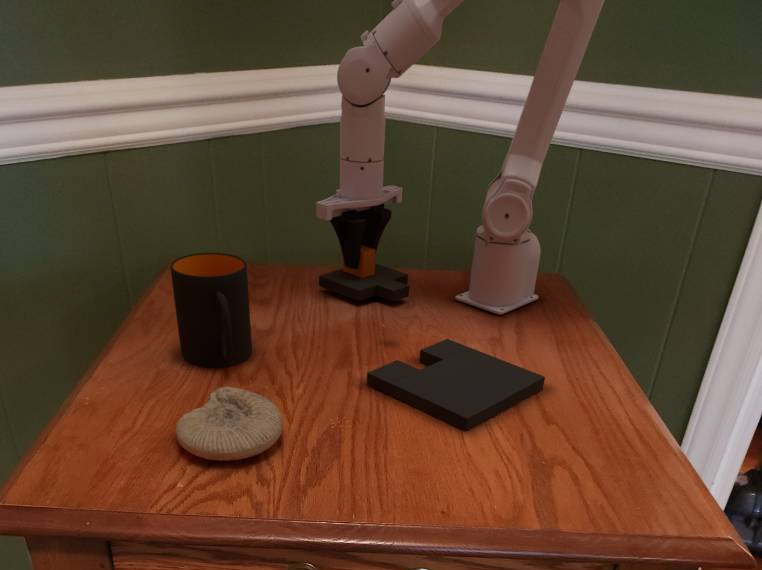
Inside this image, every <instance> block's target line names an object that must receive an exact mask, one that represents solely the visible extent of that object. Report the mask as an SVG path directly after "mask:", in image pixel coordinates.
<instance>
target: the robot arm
mask: <svg viewBox="0 0 762 570" xmlns="http://www.w3.org/2000/svg"><path fill="white" fill-rule="evenodd" d="M464 1H465V0H393V1H392V2H391V7H392V8H393V9H392V10H391V11H390V12H389V13H388V14H387V15H386V16H385V17H384V18H383V19H382V20H381V21H380V22H379V23H378V24H377V25H376V26H375V27H374V28H373V29H372V30H371V31H369V30H365V31H364V32H363V33H362V34H361V35H360V40H361V41H362V44H363V45H361V46H355V47H352V48H350V49H348V50H347V51H346V53H345V56H343V58H342V59H341V61H340V63H339V65H338V68H337V71H336V72H337V74H336V81H337V86H338V89H339V91H340V94H341V103H340V108H341V116H340V119H339V121H340V122H339V125H340V127H339V129H340V130H339V135H340V136H339V138H340V139H339V189H336V191H335V194H333V195H331V196H329V197H327V198H325V199H323V200H319V201H316V203H315V204H316V205H315V206H316V207H315V211H316V216H315V217H316V219H320V220H323V221H326V222H328V221H329V222H330V224H331V226H332V228H333V229H334V232H335V234H336V237H337V239H338V243H339V246H340V249H341V253H342V259H343V258H344V263H345V266H346V267H349V268H352V269H358V267H359V262H360V253H361V245H363V246H366V247H370V248H373V249H375V255H376V253H377V250H378V248H379V247H378V246H379V243H380V240H381V238H382V235H383V233H384V231H385V229H386V227H387V225H388V224H389V222H390V221H391V219H392V209H389V208H386V207H385V206H386V205H390V204H395V205H396V204H401V203H402V202H403V187H401V186H397V185H385V186H384V171H385V169H384V167H385V166H384V165H385V141H386V122H387V120H386V116H385V111H386V95H385V93H386V92H387V91H388V89H389V87H390V85H391V82H392V79H399V78H400V77H402V75H403V74H405V73H406V72H407V71H408V70H409V69H410V68H411V67H412V66H413V65H414V64H415V63H417V62H418V61H419V60H420V59H421V58H422V57H423V56H424V55H425V54H426V53H428V51H429V50H430V49H432V47H433V46H435V45H436V44H437V43H438V42H439V41H440V40H441V38H442V37H441V36H442V29H443V22H444V19H445V18H446V17H448V15H449V14H451V12H453V11H454V10H455V9H457V7H458V6H460V4H462V3H463V2H464ZM604 3H605V0H559V4H558V7H557V10H556V13H555V16H554V19H553V21H552V23H551V27H550V29H549V33H548V36H547V39H546V42H545V45H544V47H543V50H542V52H541V56H540V59H539V62H538V64H537V67H536V70H535V73H534V76H533V79H532V82H531V85H530V87H529V90H528V94H527V97H526V99H525V101H524V104H523V108H522V111H521V114H520V116H519V119H518V122H517V124H516V128H515V131H514V134H513V136H512V139H511V142H510V145H509V148H508V149H507V153H506V155H505V157H504V159H503V161H502V166H501V168H500V171H499V173H498V174H497V176H496V177H494V179H493V180H492V181H491V182H490V183H489V184H488V186H487V187H486V190H485V193H484V198H483V200H484V201H483V204H484V205H483V207H482V210H481V225H480V226H478V227H476V232H475V240H474V248H473V256H472V263H471V271H470V280H469V286H468V287H469V288H468V290H467V291H464V292H462V293H460V294H457V295H455V297H454V299H455V300H456V301H459V302H460V303H465V304H466V305H469V306H473V307H476V308H479V309H481V310H485V311H487V312H490V313H491V314H496V315H498V316H501V315H505V314H506V313H509V312H511V311H514V310H516V309H518V308H521V307H523V306H525V305H527V304H530V303H532V302H536V301H537V300H539V295H538V294H535V287H536V281H537V277H538V272H539V271H538V270H539V265H540V260H541V252H542V249H541V245H540V241H539V238H538V237H537V236H536V234H534V233H533V232H532V231H531V229H529V227H530V225H531V223H532V221H533V214H534V211H533V197H534V194H535V191H536V189H537V185H538V182H539V178H540V175H541V171H542V167H543V164H544V162H545V159H546V156H547V153H548V150H549V148H550V145H551V143H552V140H553V137H554V135H555V133H556V130H557V127H558V124H559V122H560V119H561V116H562V114H563V111H564V109H565V107H566V104H567V101H568V99H569V96H570V92H571V90H572V87H573V85H574V82H575V80H576V78H577V74H578V73H579V69H580V66H581V64H582V62H583V60H584V59H583V58H584V56H585V53H586V51H587V48H588V45H589V43H590V40H591V39H592V38H591V37H592V34H593V33H594V30H595V27H596V24H597V22H598V19H599V16H600V15H601V11H602V9H603V6H604Z"/></svg>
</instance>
